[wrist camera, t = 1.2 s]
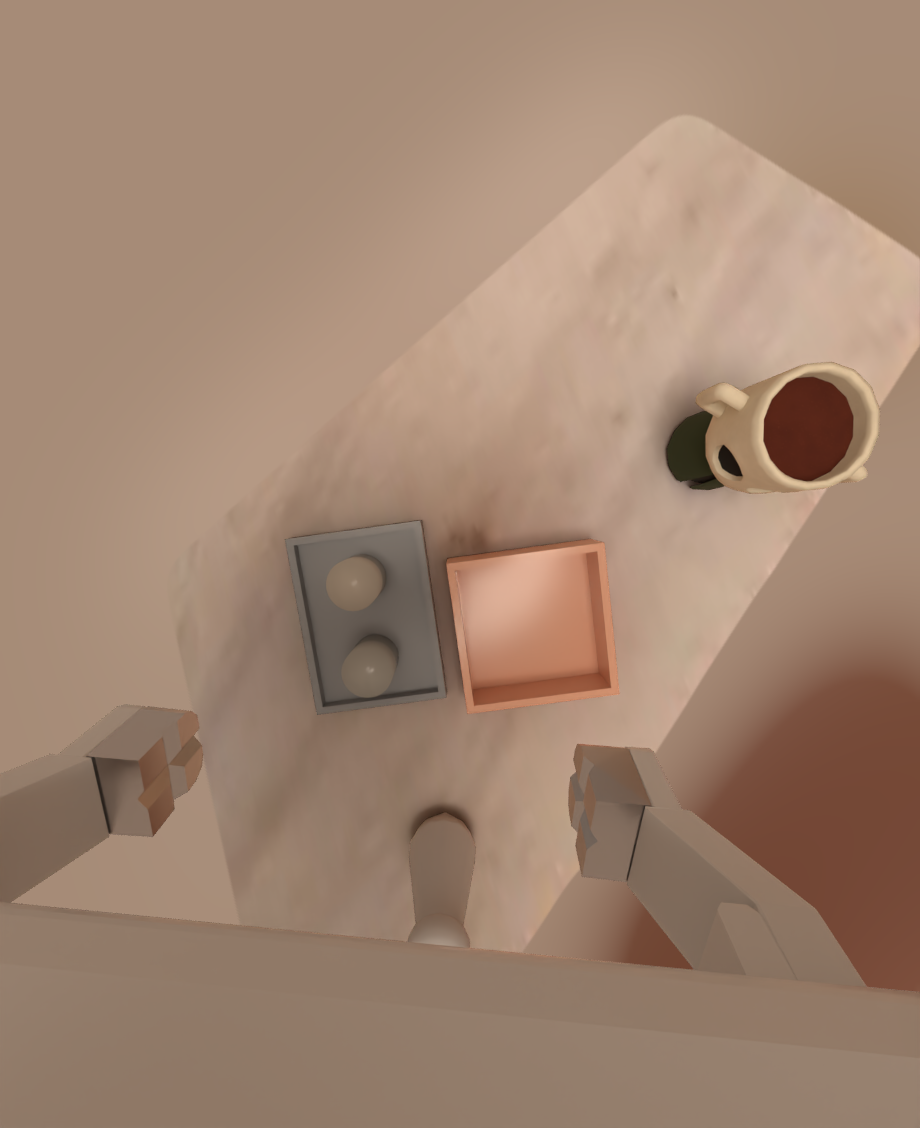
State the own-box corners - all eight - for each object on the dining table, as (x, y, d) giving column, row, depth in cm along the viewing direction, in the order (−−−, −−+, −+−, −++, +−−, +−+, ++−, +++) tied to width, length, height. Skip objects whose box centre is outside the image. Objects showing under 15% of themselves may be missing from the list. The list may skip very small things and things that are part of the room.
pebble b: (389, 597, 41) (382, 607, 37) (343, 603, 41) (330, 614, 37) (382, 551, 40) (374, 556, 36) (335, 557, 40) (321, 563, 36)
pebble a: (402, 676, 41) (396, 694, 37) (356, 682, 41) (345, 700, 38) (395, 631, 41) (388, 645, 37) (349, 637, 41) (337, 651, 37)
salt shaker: (435, 873, 44) (425, 1024, 31) (399, 826, 44) (374, 961, 31) (487, 840, 44) (499, 979, 31) (451, 792, 43) (448, 914, 30)
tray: (446, 691, 42) (446, 697, 41) (321, 707, 42) (317, 714, 41) (421, 519, 40) (420, 520, 39) (290, 538, 40) (285, 539, 39)
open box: (604, 676, 42) (619, 694, 38) (466, 694, 42) (467, 714, 38) (590, 538, 40) (604, 542, 36) (447, 558, 41) (446, 564, 37)
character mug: (623, 457, 40) (701, 434, 27) (669, 379, 39) (773, 317, 26) (732, 522, 40) (861, 530, 27) (780, 447, 40) (935, 419, 27)
